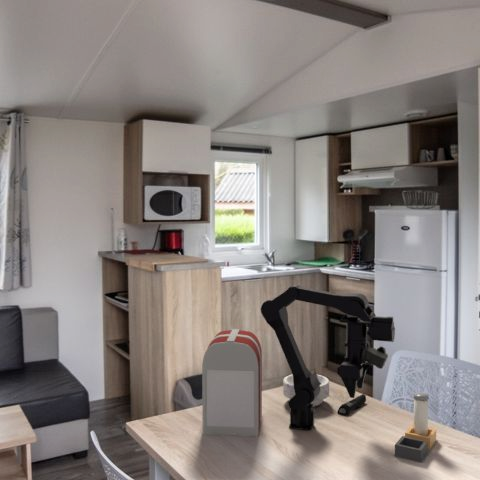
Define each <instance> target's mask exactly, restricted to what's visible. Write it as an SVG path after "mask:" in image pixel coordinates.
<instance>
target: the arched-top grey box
mask: <svg viewBox="0 0 480 480" xmlns="http://www.w3.org/2000/svg"><path fill="white" fill-rule="evenodd" d="M204 352H205V353H204V354H203V358H202V363H201V367H202V368H201V371H202V372H201V375H202V376H201V377H202V378H201V382H202V383H201V385H202V387H201V388H202V391H201V392H202V393H201V395H202V396H201V397H202V398H201V399H202V434H203V435H212V436H213V435H217V436H218V435H219V436H242V437H243V436H245V437H246V436H249V437H258V436H259V434H260V428H261V426H262V416H263V415H262V413H263V408H262V407H263V405H262V404H263V403H262V402H263V401H262V400H263V398H262V397H263V396H262V393H263V391H262V389H263V387H262V386H263V385H262V384H263V383H262V382H263V381H262V379H263V378H262V376H263V375H262V374H263V371H262V370H263V366H262V365H263V364H262V360H263V359H262V357H263V355H262V354H263V352H262V346H261V343H260V340H259V338H258V337H257V336H256V334H255V333H253V332H252V331H249V330H248V331H247V330H241V329H239V328H232V329H230V330H229V329H228V330H222V331H220V332H218V333H217V334H216V335H215V336H214V337H213V339H212V340H211V341H210V342H209V344H208V346H207V349H206V351H204Z"/></svg>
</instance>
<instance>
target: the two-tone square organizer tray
mask: <svg viewBox="0 0 480 480" xmlns="http://www.w3.org/2000/svg"><path fill="white" fill-rule="evenodd" d="M438 442H439V440H437V429H434V428H428V436H423V435H419V434H414V424H411V425H410V426H409V427H408V428H407V430H406V431H405V432H404V435H402V436H401V437H400V438H398V440H397V442H395V444H394V453H393V454H392V457H394V458H398V459H399V458H400V459H403V460H408V461H410V462H411V461H412V462H415V463H420V464H424V462H425V461H426V459H427V457H429V455H430V454H431V452H432V450H433V449H434V448H435V446H436V445H437V443H438Z"/></svg>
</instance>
